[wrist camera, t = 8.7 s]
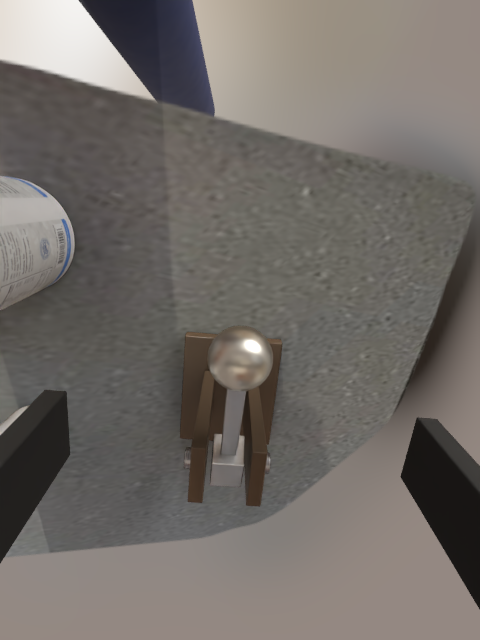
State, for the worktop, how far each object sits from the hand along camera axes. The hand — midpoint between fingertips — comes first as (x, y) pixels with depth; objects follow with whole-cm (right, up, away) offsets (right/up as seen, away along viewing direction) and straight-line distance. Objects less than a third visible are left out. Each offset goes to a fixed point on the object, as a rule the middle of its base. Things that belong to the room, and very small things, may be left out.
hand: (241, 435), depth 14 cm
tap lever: (0, 0, +11) cm, 11 cm away
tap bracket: (-1, -2, +23) cm, 23 cm away
